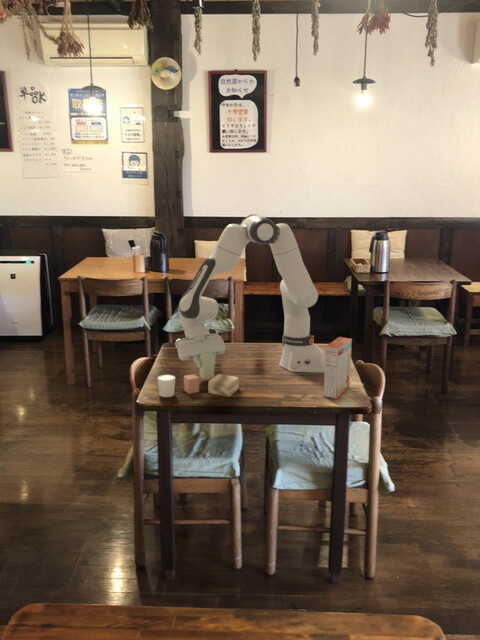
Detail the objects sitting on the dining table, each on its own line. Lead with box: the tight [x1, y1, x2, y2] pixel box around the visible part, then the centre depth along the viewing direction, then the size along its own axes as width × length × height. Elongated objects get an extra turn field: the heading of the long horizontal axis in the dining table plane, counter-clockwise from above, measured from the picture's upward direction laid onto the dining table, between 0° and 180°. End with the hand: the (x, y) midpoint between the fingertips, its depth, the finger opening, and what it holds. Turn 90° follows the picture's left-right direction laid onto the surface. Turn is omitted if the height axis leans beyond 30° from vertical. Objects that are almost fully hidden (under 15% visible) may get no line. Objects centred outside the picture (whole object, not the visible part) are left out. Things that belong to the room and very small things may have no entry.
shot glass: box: [157, 374, 176, 398], centre depth 238 cm, size 7×7×7 cm
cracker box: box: [323, 336, 353, 400], centre depth 240 cm, size 14×6×21 cm, turn 150°
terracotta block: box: [183, 373, 200, 395], centre depth 242 cm, size 4×4×6 cm
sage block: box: [198, 351, 215, 380], centre depth 252 cm, size 4×4×10 cm
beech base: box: [207, 373, 240, 397], centre depth 243 cm, size 9×9×5 cm
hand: (207, 365), depth 251 cm, fingers closed on sage block, 4 cm apart
